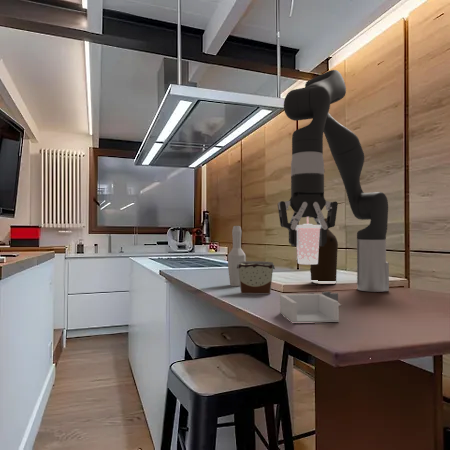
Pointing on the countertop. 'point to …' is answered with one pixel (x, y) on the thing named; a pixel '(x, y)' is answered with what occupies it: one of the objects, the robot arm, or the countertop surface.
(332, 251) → the olive oil
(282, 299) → the tray
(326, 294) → the clip
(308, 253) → the beverage cup
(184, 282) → the countertop surface
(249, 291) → the food container
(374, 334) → the countertop surface
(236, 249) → the faceted bottle
